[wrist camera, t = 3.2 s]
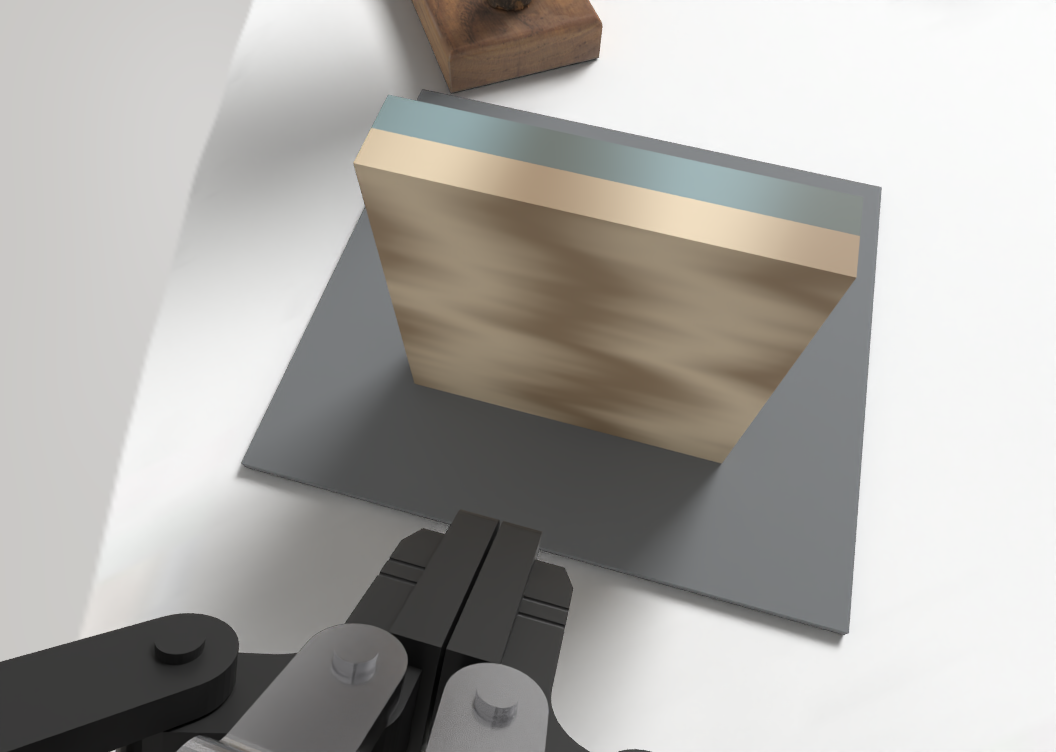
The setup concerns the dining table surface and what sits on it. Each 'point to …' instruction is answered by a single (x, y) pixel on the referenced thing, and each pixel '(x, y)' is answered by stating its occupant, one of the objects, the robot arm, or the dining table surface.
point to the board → (598, 273)
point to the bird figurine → (507, 37)
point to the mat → (595, 439)
